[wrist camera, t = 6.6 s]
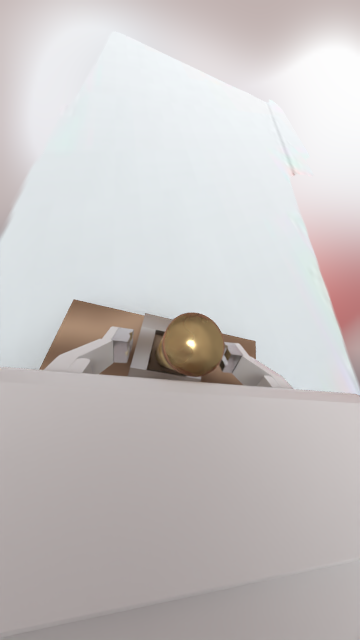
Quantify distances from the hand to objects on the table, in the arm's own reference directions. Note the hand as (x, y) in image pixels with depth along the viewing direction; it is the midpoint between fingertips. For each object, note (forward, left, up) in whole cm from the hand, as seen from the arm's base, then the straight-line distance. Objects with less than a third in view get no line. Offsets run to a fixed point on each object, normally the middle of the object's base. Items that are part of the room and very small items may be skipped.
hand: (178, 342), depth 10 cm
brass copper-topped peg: (-1, 0, -6) cm, 6 cm away
